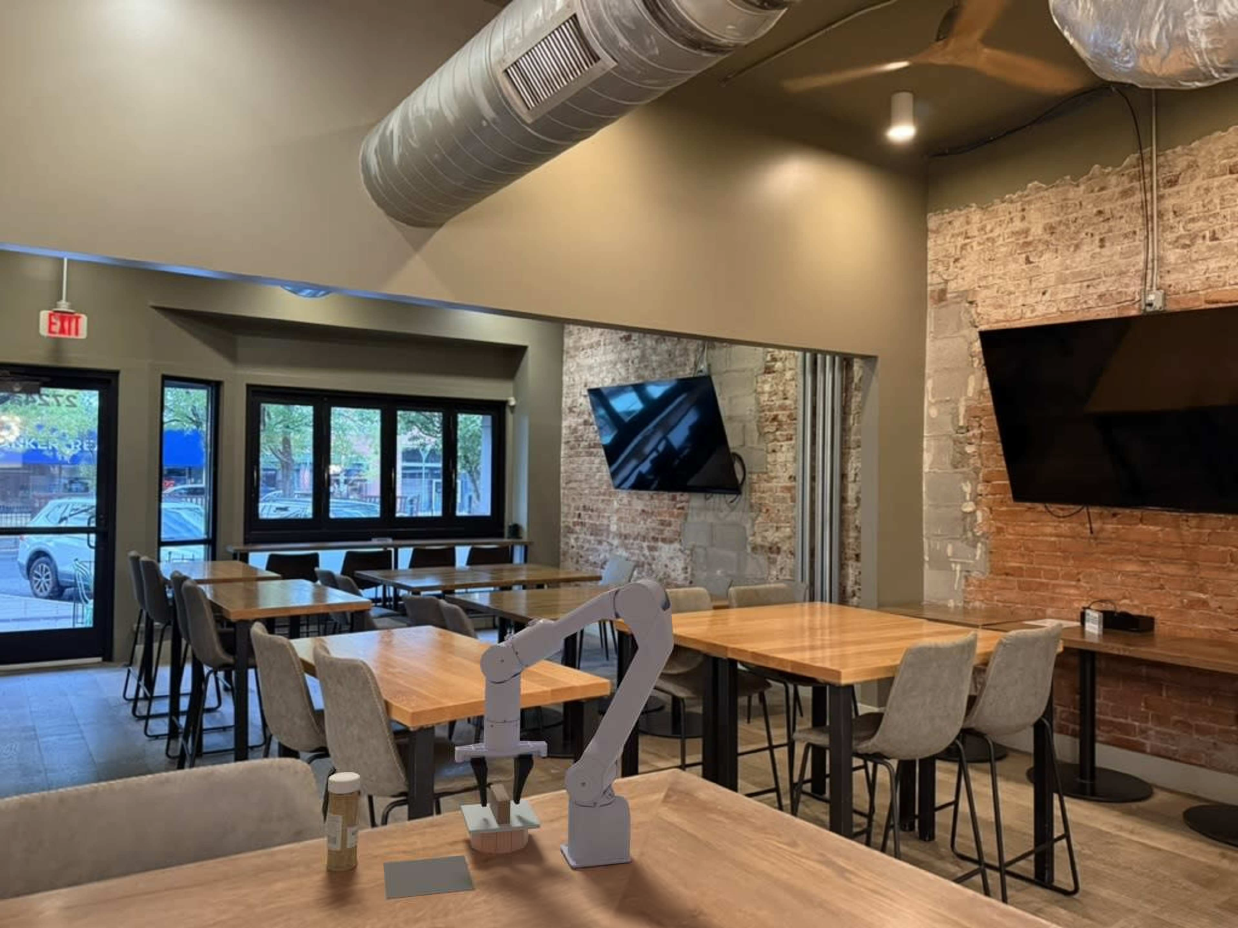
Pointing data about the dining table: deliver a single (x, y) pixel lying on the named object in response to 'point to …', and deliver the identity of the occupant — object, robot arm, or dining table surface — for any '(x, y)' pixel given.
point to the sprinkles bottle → (342, 821)
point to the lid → (499, 814)
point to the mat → (427, 877)
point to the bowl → (499, 841)
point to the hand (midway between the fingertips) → (500, 803)
